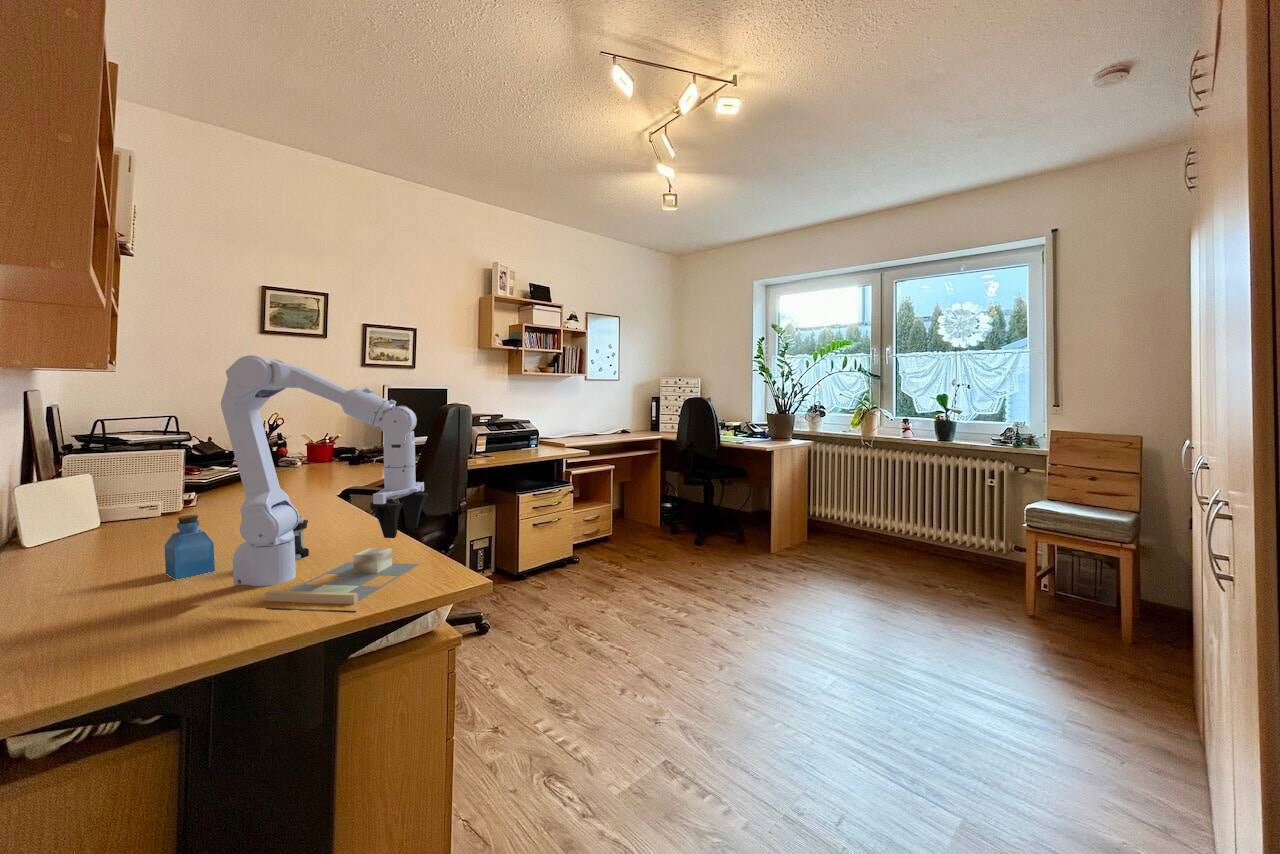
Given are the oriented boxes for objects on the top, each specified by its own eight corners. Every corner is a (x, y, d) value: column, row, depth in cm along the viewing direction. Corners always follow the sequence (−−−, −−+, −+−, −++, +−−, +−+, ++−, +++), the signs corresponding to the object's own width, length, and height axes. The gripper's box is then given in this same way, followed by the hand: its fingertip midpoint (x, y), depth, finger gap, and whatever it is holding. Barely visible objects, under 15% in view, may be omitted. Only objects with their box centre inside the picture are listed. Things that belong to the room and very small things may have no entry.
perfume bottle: (214, 571, 105) (212, 515, 104) (176, 580, 100) (173, 521, 99) (203, 566, 108) (201, 512, 108) (165, 574, 103) (163, 517, 103)
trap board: (266, 609, 85) (265, 592, 85) (348, 569, 106) (348, 555, 106) (354, 612, 84) (353, 595, 84) (419, 571, 105) (419, 557, 105)
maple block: (353, 572, 100) (353, 555, 100) (369, 564, 105) (369, 547, 105) (377, 572, 99) (377, 555, 99) (392, 564, 104) (391, 548, 104)
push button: (282, 569, 106) (280, 523, 106) (268, 565, 109) (266, 520, 108) (314, 560, 112) (313, 516, 112) (300, 557, 115) (298, 514, 114)
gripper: (397, 471, 93) (399, 543, 93) (437, 462, 107) (438, 524, 108) (362, 470, 93) (363, 541, 94) (406, 461, 108) (407, 523, 108)
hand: (401, 532), depth 101 cm, fingers open, 7 cm apart
